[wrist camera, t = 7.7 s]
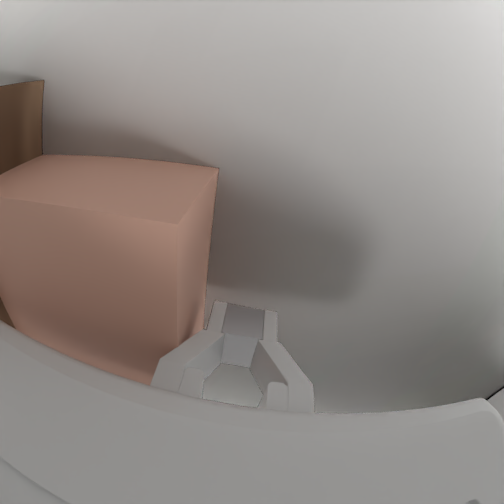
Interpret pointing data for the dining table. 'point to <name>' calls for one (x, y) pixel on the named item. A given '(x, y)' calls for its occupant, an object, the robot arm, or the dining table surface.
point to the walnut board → (19, 133)
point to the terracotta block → (107, 256)
